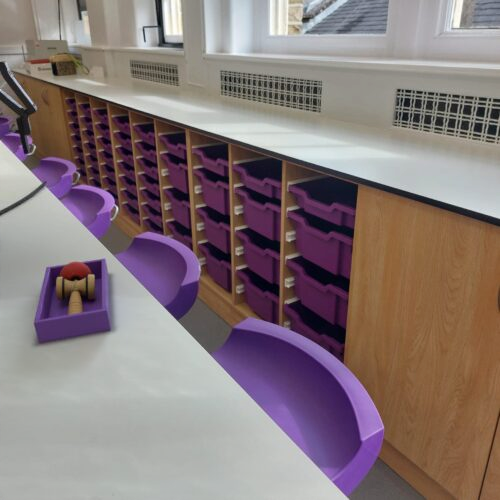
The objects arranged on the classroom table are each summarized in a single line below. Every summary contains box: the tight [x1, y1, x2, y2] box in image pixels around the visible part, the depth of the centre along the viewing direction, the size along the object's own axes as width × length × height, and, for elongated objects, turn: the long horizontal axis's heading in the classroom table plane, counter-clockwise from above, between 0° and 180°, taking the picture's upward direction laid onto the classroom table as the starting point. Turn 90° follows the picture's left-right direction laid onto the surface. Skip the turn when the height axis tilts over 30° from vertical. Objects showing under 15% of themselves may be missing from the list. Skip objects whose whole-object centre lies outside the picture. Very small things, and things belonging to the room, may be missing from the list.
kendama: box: [56, 261, 95, 315], centre depth 91 cm, size 8×6×18 cm
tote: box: [33, 258, 112, 344], centre depth 91 cm, size 22×12×5 cm, turn 16°
